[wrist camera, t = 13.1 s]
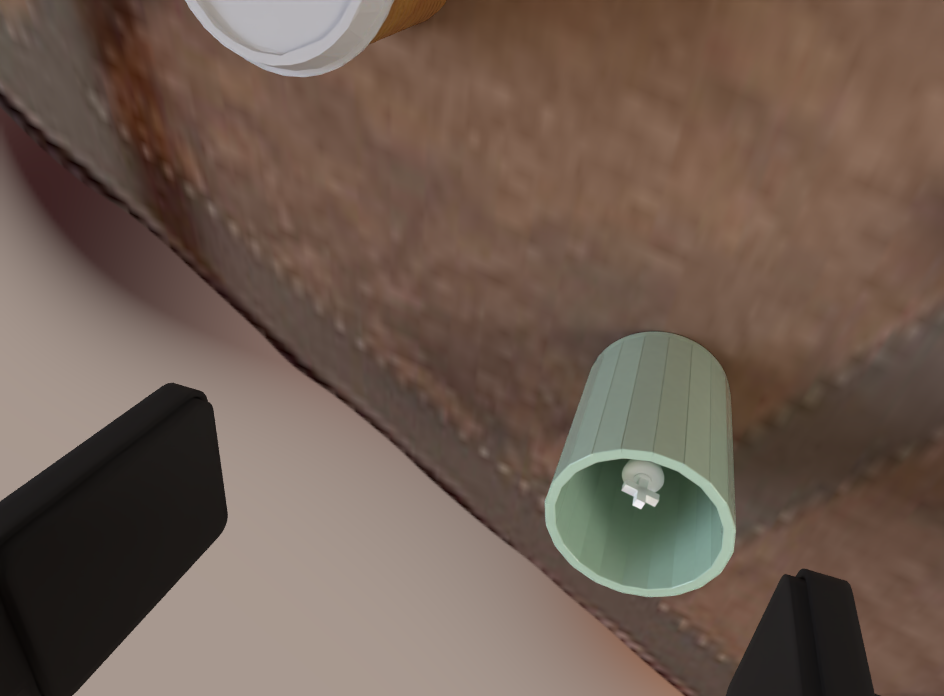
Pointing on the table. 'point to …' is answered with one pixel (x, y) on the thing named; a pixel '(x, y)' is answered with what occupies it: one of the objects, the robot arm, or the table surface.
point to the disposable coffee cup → (306, 29)
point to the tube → (657, 440)
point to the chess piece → (642, 481)
